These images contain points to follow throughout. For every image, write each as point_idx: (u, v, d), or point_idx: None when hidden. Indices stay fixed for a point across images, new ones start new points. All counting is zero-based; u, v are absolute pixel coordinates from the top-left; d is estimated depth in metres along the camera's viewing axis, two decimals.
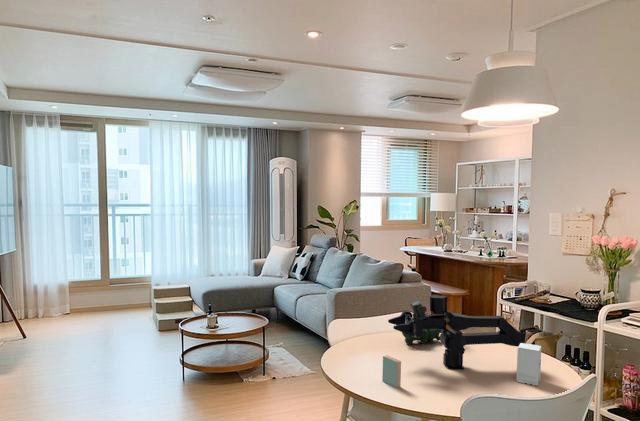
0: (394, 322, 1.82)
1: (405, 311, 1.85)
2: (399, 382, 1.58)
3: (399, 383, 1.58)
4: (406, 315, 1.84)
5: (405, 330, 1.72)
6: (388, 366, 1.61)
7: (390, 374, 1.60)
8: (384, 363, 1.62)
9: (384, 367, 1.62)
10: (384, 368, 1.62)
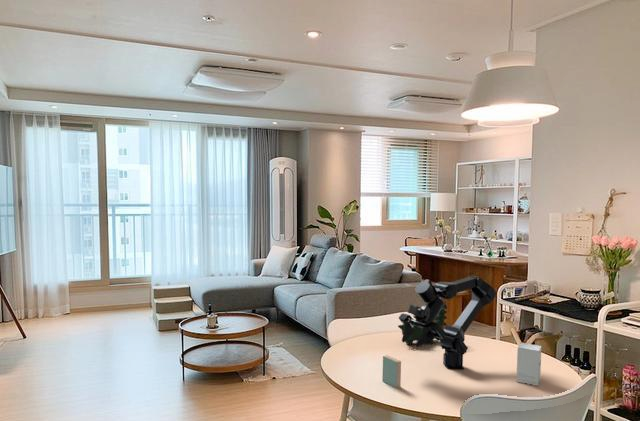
0: (407, 337, 1.69)
1: (403, 318, 1.73)
2: (399, 382, 1.58)
3: (399, 383, 1.58)
4: (409, 321, 1.71)
5: (426, 339, 1.64)
6: (388, 366, 1.61)
7: (390, 374, 1.60)
8: (384, 363, 1.62)
9: (384, 367, 1.62)
10: (384, 368, 1.62)
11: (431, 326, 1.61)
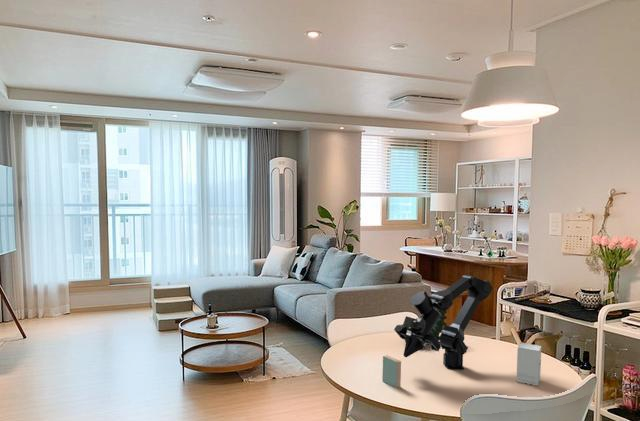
0: None
1: (398, 330, 1.71)
2: (399, 382, 1.58)
3: (399, 383, 1.58)
4: (411, 335, 1.67)
5: (415, 349, 1.65)
6: (388, 366, 1.61)
7: (390, 374, 1.60)
8: (384, 363, 1.62)
9: (384, 367, 1.62)
10: (384, 368, 1.62)
11: (427, 338, 1.60)
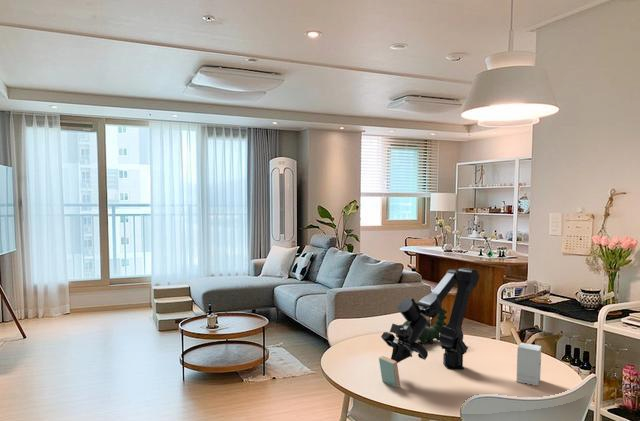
0: None
1: (385, 337, 1.68)
2: (398, 381, 1.58)
3: (398, 382, 1.58)
4: (398, 343, 1.64)
5: (402, 357, 1.61)
6: (385, 367, 1.60)
7: (388, 375, 1.59)
8: (381, 364, 1.61)
9: (382, 368, 1.62)
10: (381, 369, 1.62)
11: (413, 347, 1.56)
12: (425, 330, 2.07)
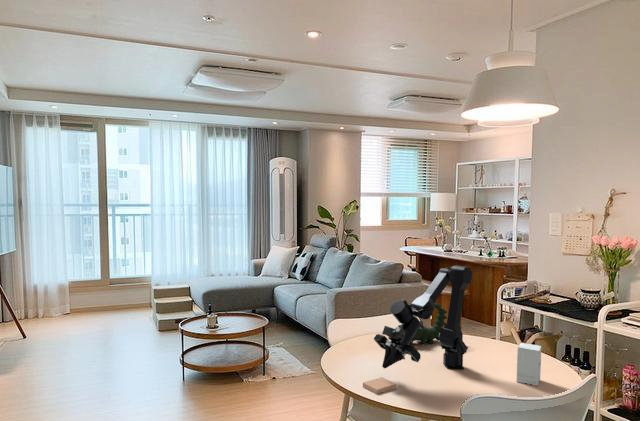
0: None
1: (378, 339, 1.65)
2: (392, 386, 1.56)
3: (393, 386, 1.57)
4: (390, 345, 1.62)
5: (394, 360, 1.59)
6: None
7: None
8: None
9: None
10: None
11: (406, 349, 1.54)
12: (425, 330, 2.07)
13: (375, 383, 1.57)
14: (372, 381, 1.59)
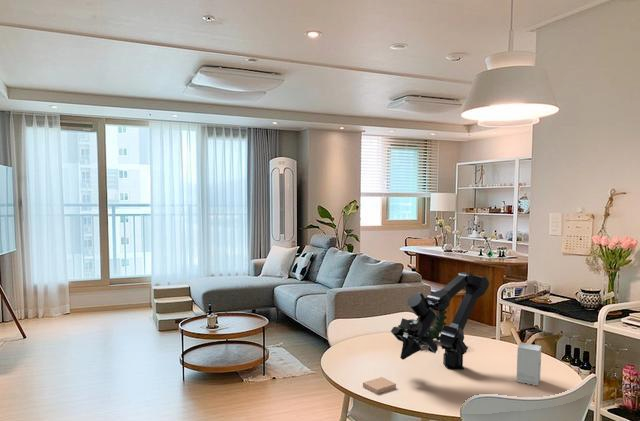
0: None
1: (395, 331, 1.70)
2: (392, 386, 1.56)
3: (393, 385, 1.57)
4: (407, 337, 1.66)
5: (412, 351, 1.64)
6: None
7: None
8: None
9: None
10: None
11: (423, 341, 1.59)
12: None
13: (375, 383, 1.57)
14: (372, 381, 1.59)
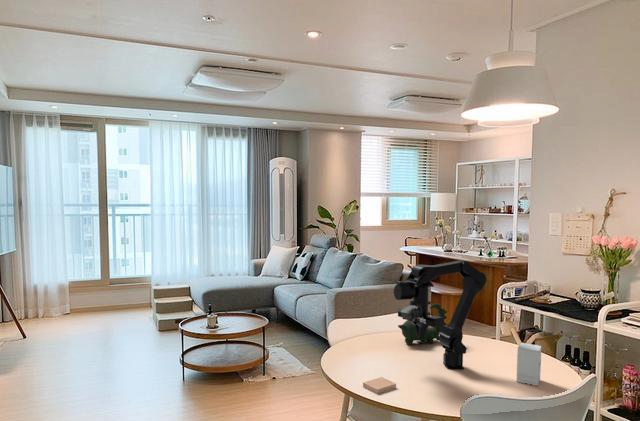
0: None
1: (401, 316, 1.77)
2: (392, 386, 1.57)
3: (393, 385, 1.57)
4: (414, 319, 1.74)
5: (424, 328, 1.73)
6: None
7: None
8: None
9: None
10: None
11: (429, 324, 1.66)
12: None
13: (375, 383, 1.57)
14: (372, 381, 1.59)
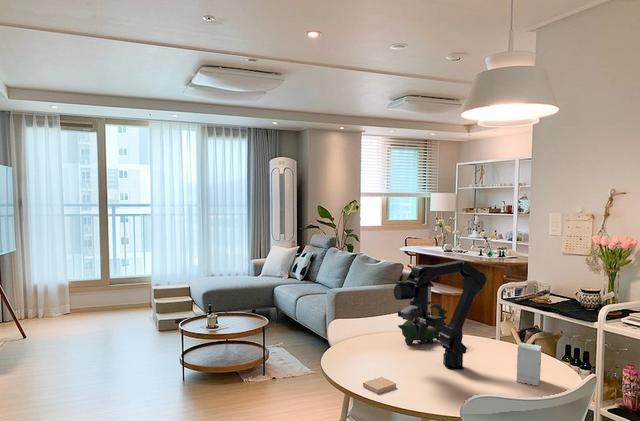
0: None
1: (401, 316, 1.77)
2: (392, 385, 1.57)
3: (393, 385, 1.57)
4: (414, 319, 1.74)
5: (424, 328, 1.73)
6: None
7: None
8: None
9: None
10: None
11: (429, 324, 1.66)
12: None
13: (375, 383, 1.57)
14: (372, 381, 1.59)
